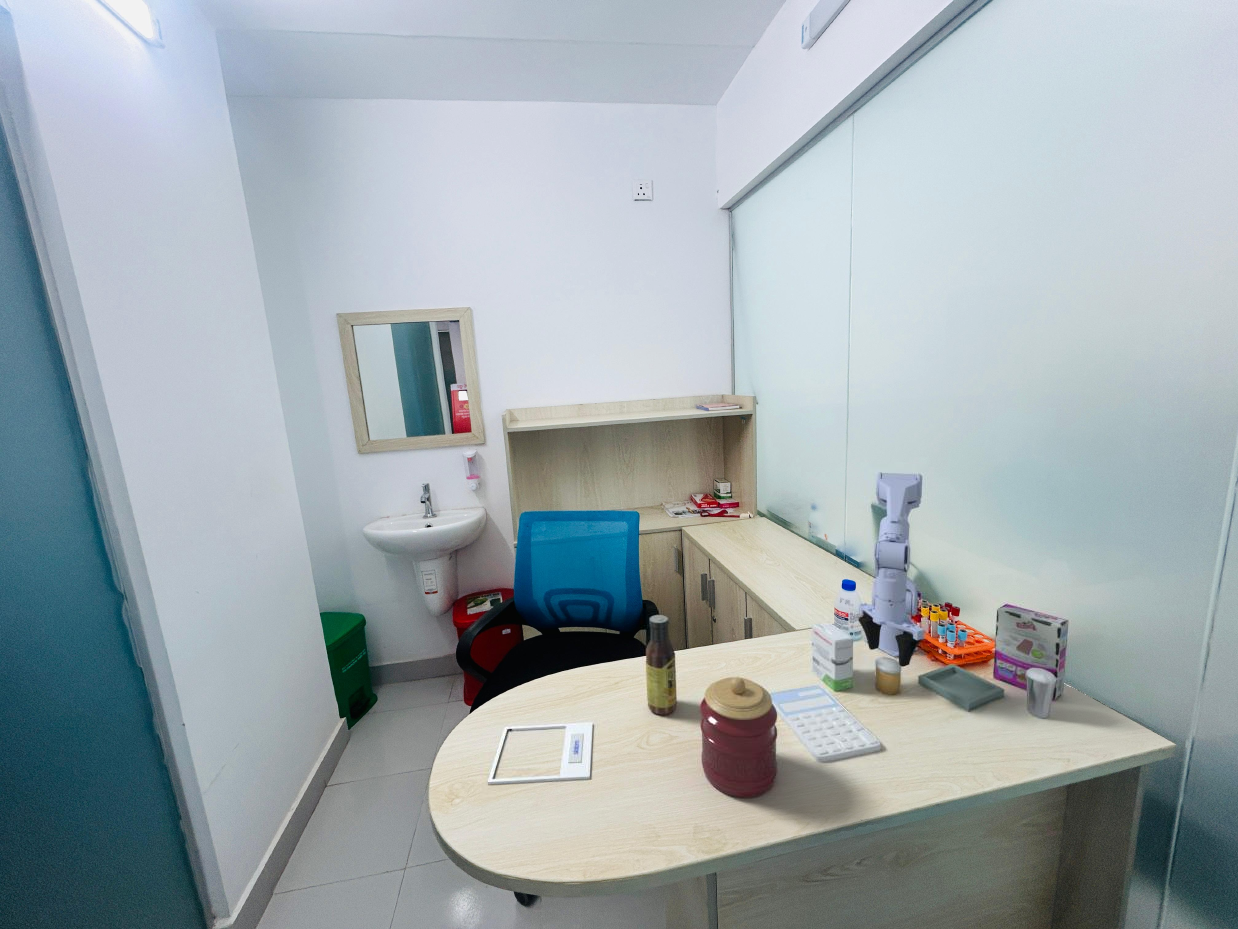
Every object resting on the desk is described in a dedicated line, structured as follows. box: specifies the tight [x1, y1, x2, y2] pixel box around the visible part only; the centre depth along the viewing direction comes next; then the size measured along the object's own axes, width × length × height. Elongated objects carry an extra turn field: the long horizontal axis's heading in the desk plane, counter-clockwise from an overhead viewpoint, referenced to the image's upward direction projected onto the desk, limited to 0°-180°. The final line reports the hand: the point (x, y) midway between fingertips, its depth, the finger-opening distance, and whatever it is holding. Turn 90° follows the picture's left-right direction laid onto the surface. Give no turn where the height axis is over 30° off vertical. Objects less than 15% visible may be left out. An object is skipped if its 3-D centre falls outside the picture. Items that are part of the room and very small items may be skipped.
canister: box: [699, 676, 778, 799], centre depth 88 cm, size 13×13×18 cm
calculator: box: [768, 684, 882, 763], centre depth 101 cm, size 13×20×2 cm, turn 11°
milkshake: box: [1026, 668, 1063, 719], centre depth 99 cm, size 5×5×10 cm
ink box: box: [811, 622, 854, 692], centre depth 114 cm, size 9×5×12 cm, turn 14°
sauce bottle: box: [645, 614, 677, 716], centre depth 106 cm, size 7×6×20 cm
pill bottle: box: [874, 656, 902, 696], centre depth 110 cm, size 5×5×6 cm
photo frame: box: [487, 721, 594, 786], centre depth 96 cm, size 15×1×18 cm
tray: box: [917, 663, 1005, 712], centre depth 108 cm, size 11×11×2 cm
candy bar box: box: [992, 603, 1069, 702], centre depth 108 cm, size 11×5×16 cm, turn 33°
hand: (888, 656), depth 109 cm, fingers open, 7 cm apart
